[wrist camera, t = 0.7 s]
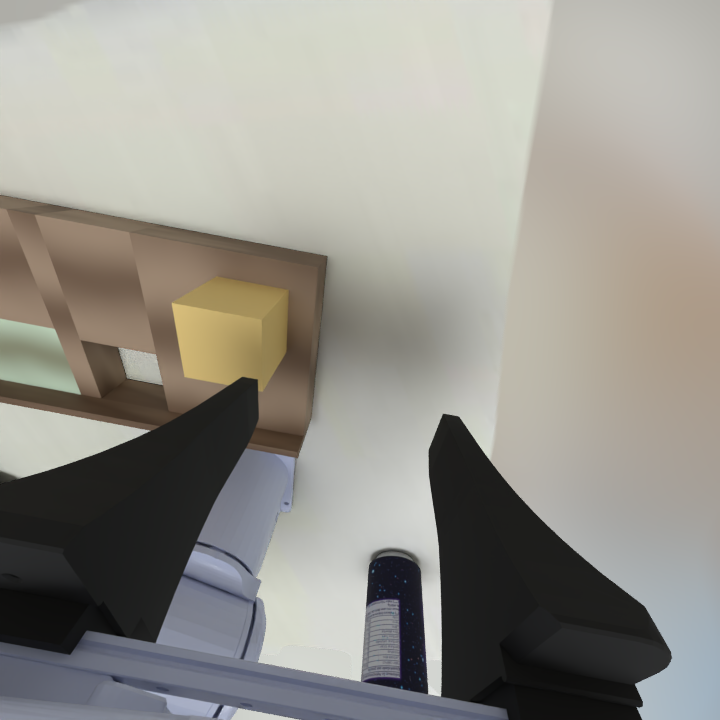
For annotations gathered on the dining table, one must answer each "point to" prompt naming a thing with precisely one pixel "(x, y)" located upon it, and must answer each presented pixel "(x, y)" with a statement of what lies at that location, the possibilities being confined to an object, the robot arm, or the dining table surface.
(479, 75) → the dining table surface
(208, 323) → the block
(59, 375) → the tray
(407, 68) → the dining table surface
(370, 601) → the beverage can
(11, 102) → the dining table surface
